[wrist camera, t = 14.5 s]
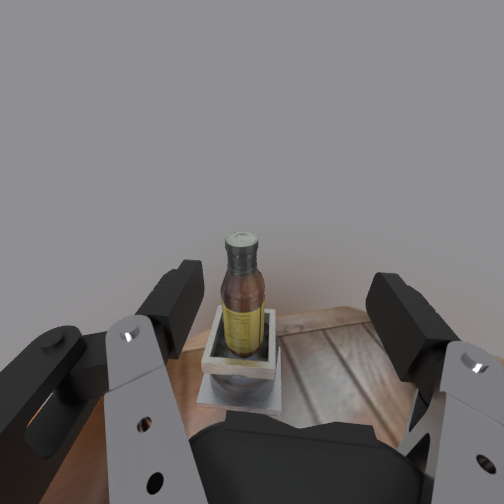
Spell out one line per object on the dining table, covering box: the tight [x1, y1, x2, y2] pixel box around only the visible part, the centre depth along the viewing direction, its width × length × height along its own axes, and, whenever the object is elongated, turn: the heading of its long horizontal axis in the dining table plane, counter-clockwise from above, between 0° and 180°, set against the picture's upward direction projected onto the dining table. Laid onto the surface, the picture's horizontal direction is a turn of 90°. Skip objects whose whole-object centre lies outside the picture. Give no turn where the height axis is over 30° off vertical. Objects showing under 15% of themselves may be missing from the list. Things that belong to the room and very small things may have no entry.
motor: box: [196, 305, 282, 416], centre depth 39 cm, size 14×12×12 cm
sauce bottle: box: [221, 232, 265, 358], centre depth 32 cm, size 7×6×20 cm
